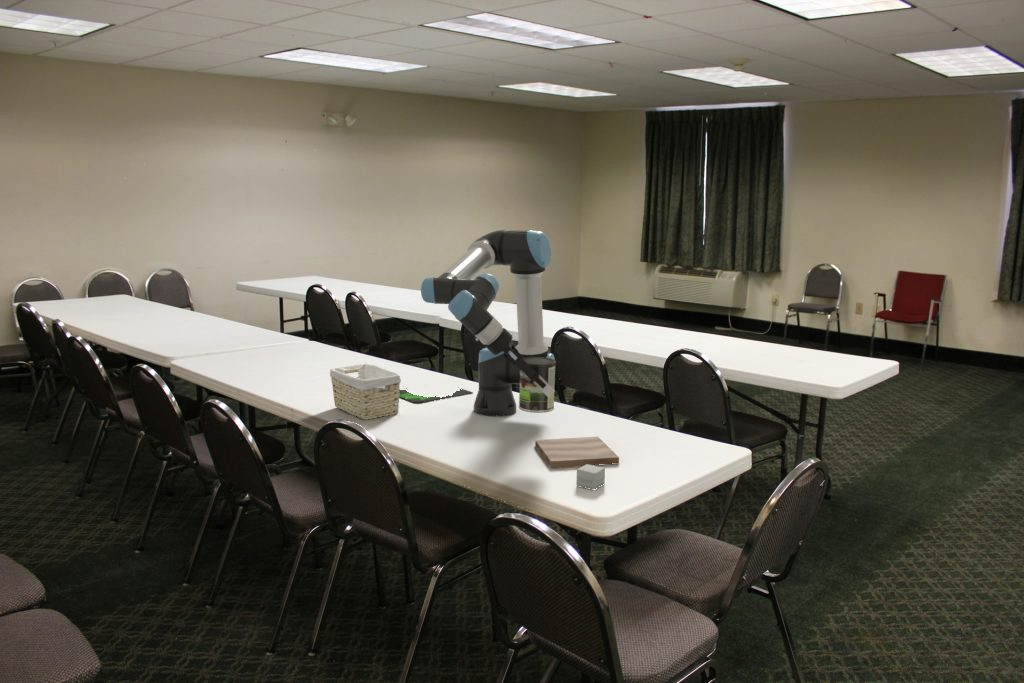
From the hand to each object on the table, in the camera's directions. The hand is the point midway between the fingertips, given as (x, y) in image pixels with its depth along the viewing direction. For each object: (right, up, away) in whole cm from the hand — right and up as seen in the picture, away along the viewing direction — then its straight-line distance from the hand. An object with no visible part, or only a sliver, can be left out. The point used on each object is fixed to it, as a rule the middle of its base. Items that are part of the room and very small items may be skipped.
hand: (547, 389), depth 227 cm
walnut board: (+9, -20, +7) cm, 23 cm away
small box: (+11, -25, -18) cm, 32 cm away
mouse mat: (-42, -7, +79) cm, 90 cm away
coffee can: (-3, -6, +1) cm, 6 cm away
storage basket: (-62, -11, +53) cm, 82 cm away
